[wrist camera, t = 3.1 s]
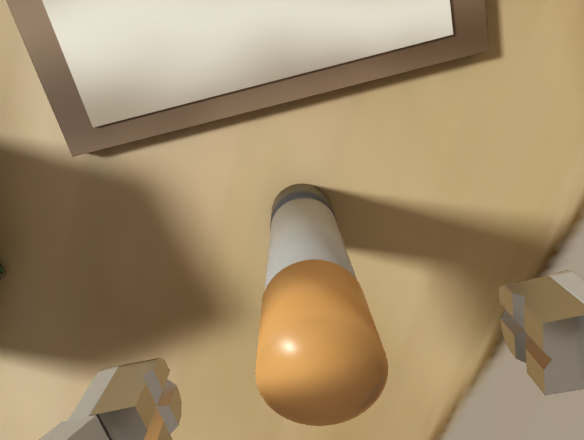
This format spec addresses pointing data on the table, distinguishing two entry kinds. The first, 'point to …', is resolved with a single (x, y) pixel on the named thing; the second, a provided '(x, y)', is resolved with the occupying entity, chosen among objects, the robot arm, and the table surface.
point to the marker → (315, 319)
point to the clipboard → (223, 56)
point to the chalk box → (1, 272)
